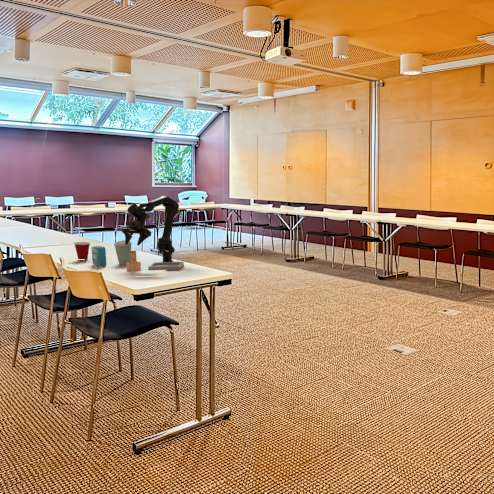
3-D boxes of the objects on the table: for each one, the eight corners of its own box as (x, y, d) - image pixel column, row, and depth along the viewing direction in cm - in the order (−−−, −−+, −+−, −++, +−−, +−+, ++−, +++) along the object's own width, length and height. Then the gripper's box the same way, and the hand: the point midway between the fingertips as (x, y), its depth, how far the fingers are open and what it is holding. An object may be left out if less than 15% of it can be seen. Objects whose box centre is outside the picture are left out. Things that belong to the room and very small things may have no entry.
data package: (92, 264, 346) (91, 246, 344) (99, 264, 348) (98, 245, 347) (99, 267, 336) (98, 247, 334) (106, 266, 339) (105, 247, 337)
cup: (129, 269, 321) (128, 261, 321) (142, 269, 321) (141, 261, 320) (125, 272, 313) (124, 263, 313) (139, 271, 313) (138, 263, 312)
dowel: (131, 269, 319) (130, 250, 317) (137, 268, 319) (136, 250, 317) (130, 270, 315) (128, 251, 314) (136, 269, 315) (135, 251, 314)
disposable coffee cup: (128, 266, 334) (127, 242, 332) (112, 266, 336) (110, 242, 334) (135, 263, 344) (134, 240, 342) (119, 263, 347) (118, 240, 345)
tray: (154, 266, 330) (154, 262, 330) (183, 265, 330) (183, 261, 329) (148, 271, 315) (148, 266, 314) (179, 270, 314) (179, 265, 313)
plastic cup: (88, 261, 362) (87, 243, 361) (72, 261, 363) (71, 243, 361) (93, 258, 373) (92, 241, 371) (78, 259, 373) (76, 241, 372)
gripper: (120, 214, 322) (111, 238, 316) (144, 215, 312) (135, 239, 307) (131, 223, 330) (123, 246, 325) (155, 224, 321) (147, 247, 315)
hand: (131, 245), depth 318 cm, fingers open, 9 cm apart
